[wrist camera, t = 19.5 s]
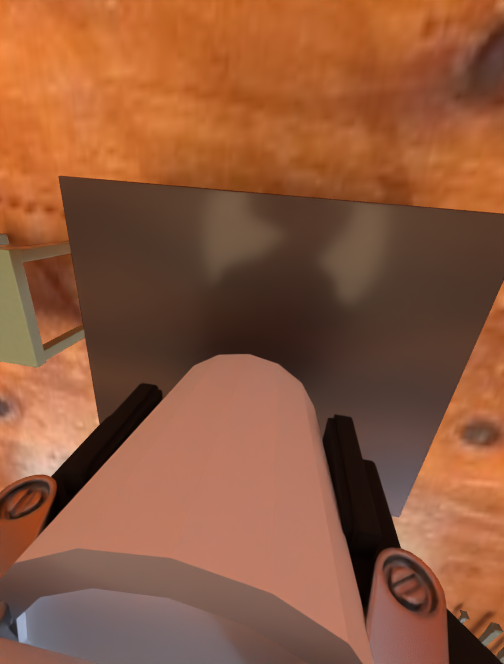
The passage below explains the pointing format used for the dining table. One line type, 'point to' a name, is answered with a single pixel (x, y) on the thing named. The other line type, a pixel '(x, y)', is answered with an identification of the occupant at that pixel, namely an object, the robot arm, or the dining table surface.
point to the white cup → (201, 538)
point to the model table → (288, 300)
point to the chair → (26, 307)
